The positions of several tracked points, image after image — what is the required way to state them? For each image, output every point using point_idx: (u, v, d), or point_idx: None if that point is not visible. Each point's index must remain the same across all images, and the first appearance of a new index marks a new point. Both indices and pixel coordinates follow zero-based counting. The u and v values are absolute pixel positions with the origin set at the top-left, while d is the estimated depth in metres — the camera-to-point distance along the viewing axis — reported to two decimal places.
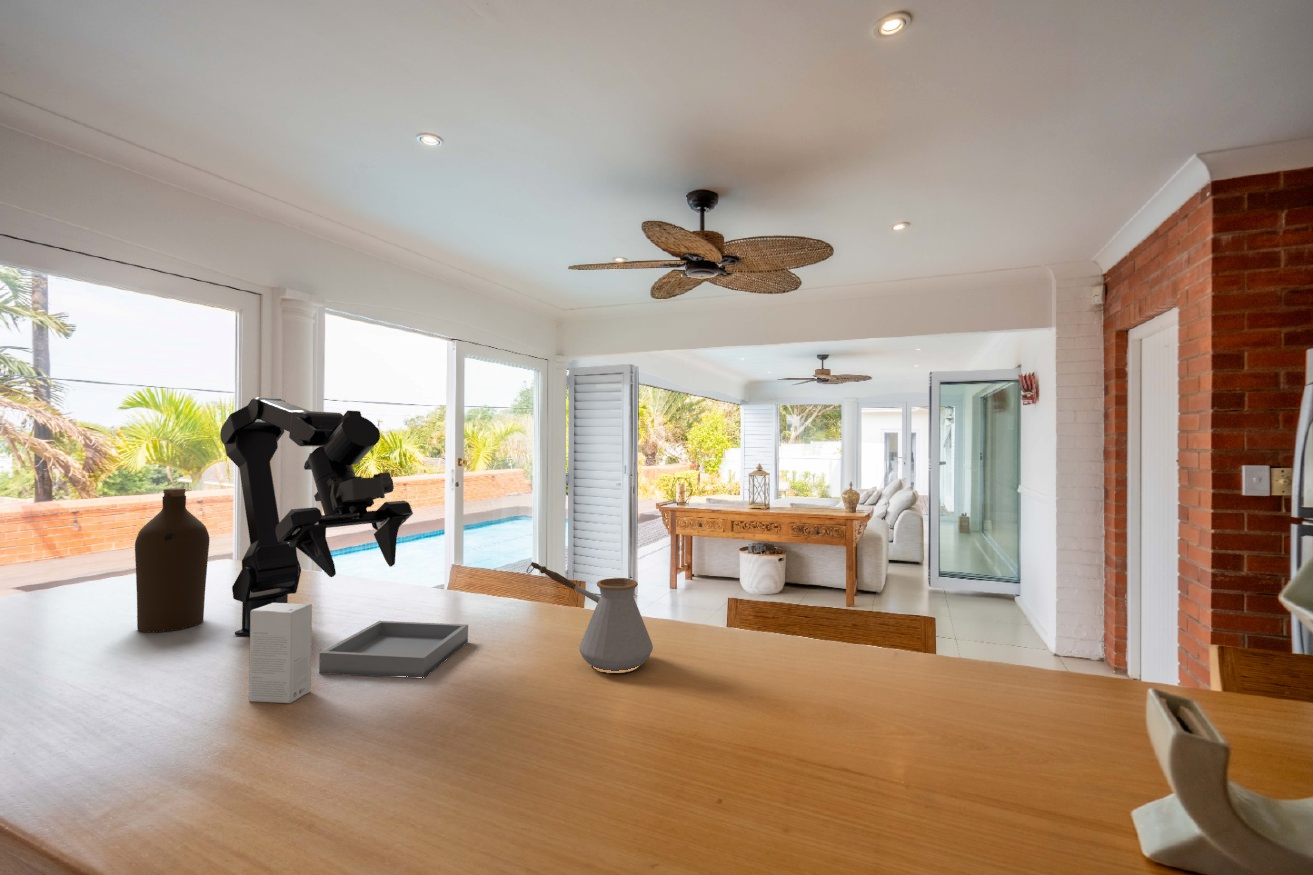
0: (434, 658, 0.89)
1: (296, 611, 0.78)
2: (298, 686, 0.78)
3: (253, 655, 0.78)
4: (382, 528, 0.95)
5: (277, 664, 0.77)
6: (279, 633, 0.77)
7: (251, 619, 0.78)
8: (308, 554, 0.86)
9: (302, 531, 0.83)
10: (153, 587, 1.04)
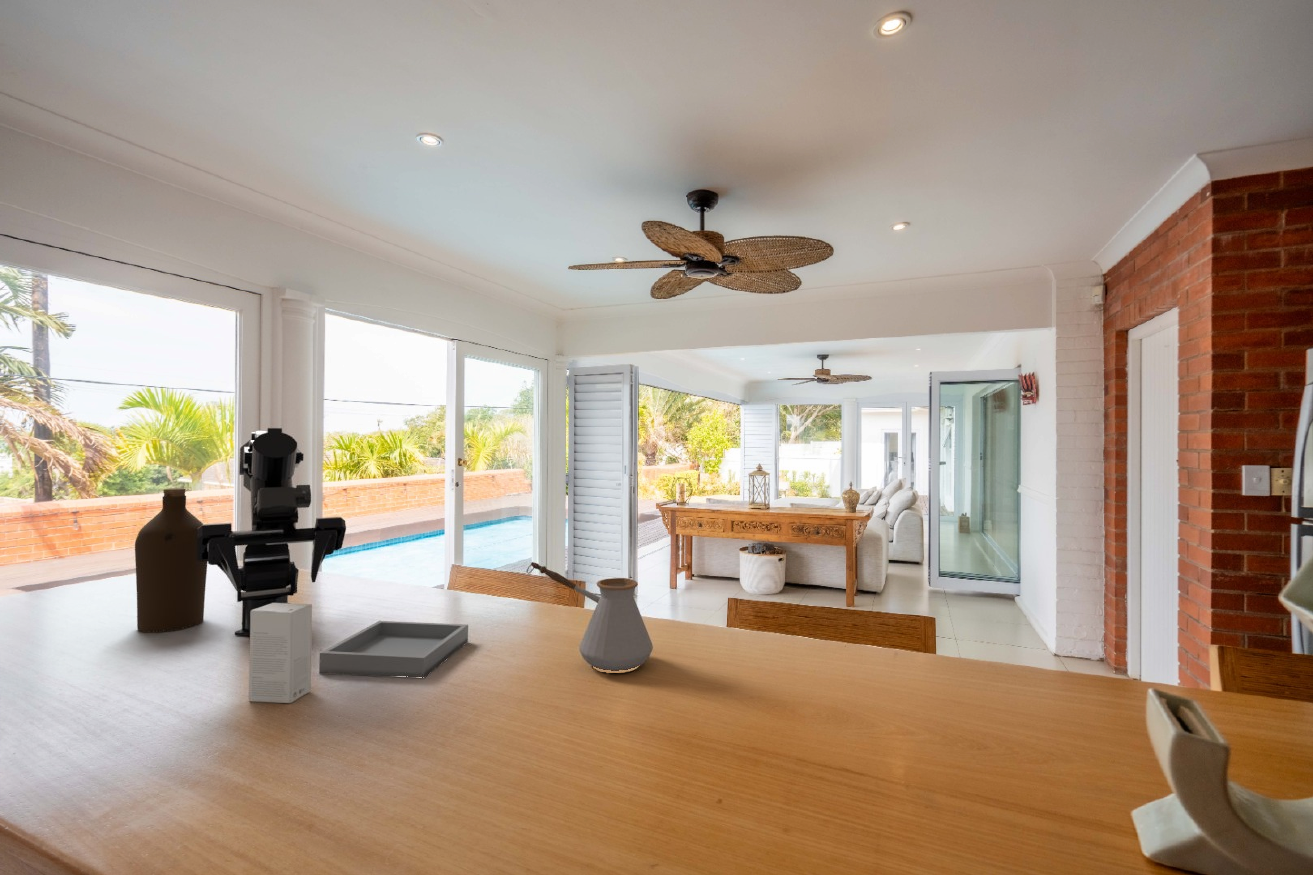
0: (434, 658, 0.89)
1: (296, 611, 0.78)
2: (298, 686, 0.78)
3: (254, 655, 0.78)
4: None
5: (277, 664, 0.77)
6: (279, 633, 0.77)
7: (251, 619, 0.78)
8: (224, 570, 0.85)
9: (208, 544, 0.83)
10: (153, 587, 1.04)
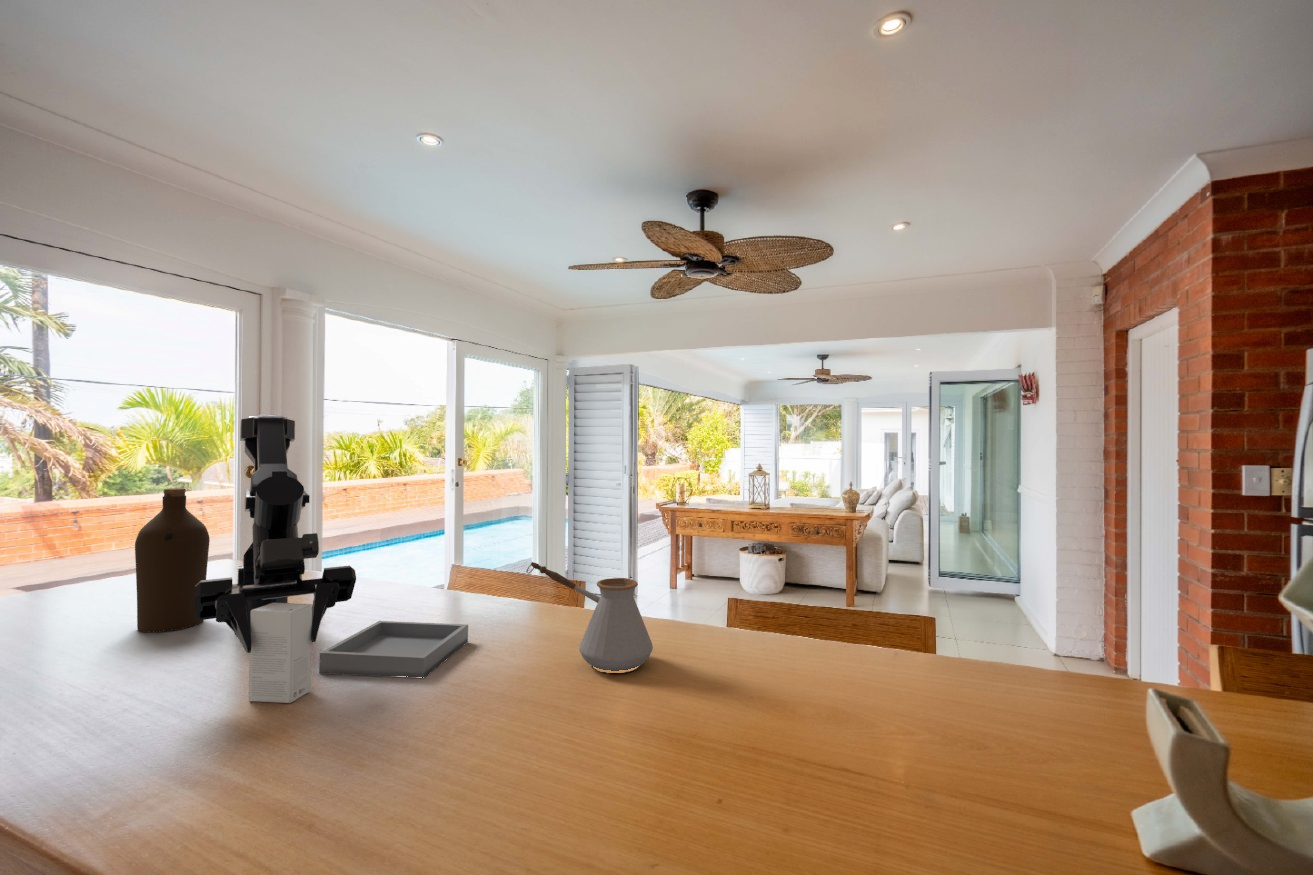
0: (434, 658, 0.89)
1: (296, 611, 0.78)
2: (298, 686, 0.78)
3: (254, 655, 0.78)
4: None
5: (277, 664, 0.77)
6: (279, 633, 0.77)
7: (251, 619, 0.78)
8: (233, 629, 0.79)
9: (217, 602, 0.77)
10: (153, 587, 1.04)
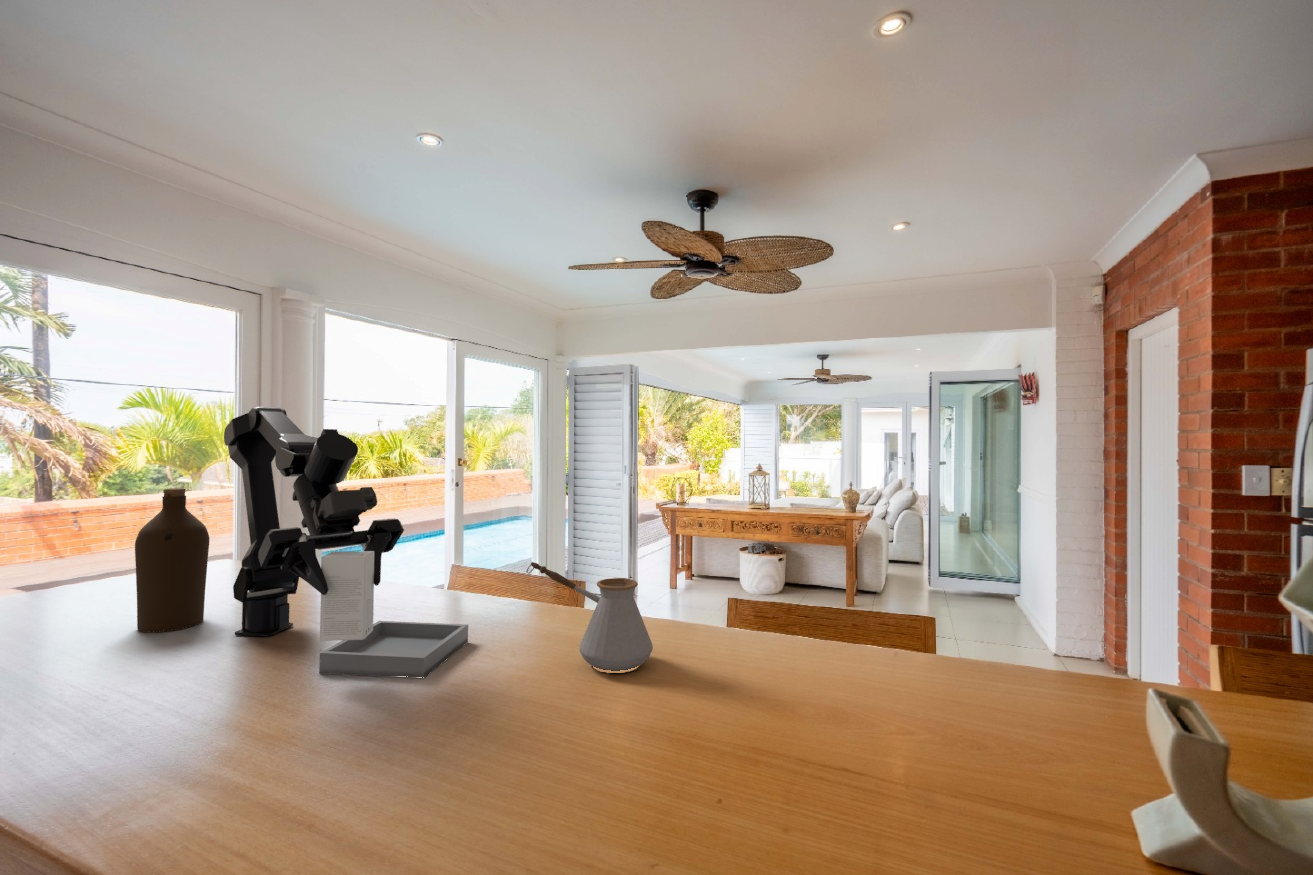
0: (434, 658, 0.89)
1: (367, 556, 0.85)
2: (368, 625, 0.85)
3: (325, 598, 0.83)
4: (367, 549, 0.91)
5: (350, 604, 0.84)
6: (352, 576, 0.84)
7: (322, 564, 0.83)
8: (300, 575, 0.83)
9: (290, 549, 0.81)
10: (153, 587, 1.04)
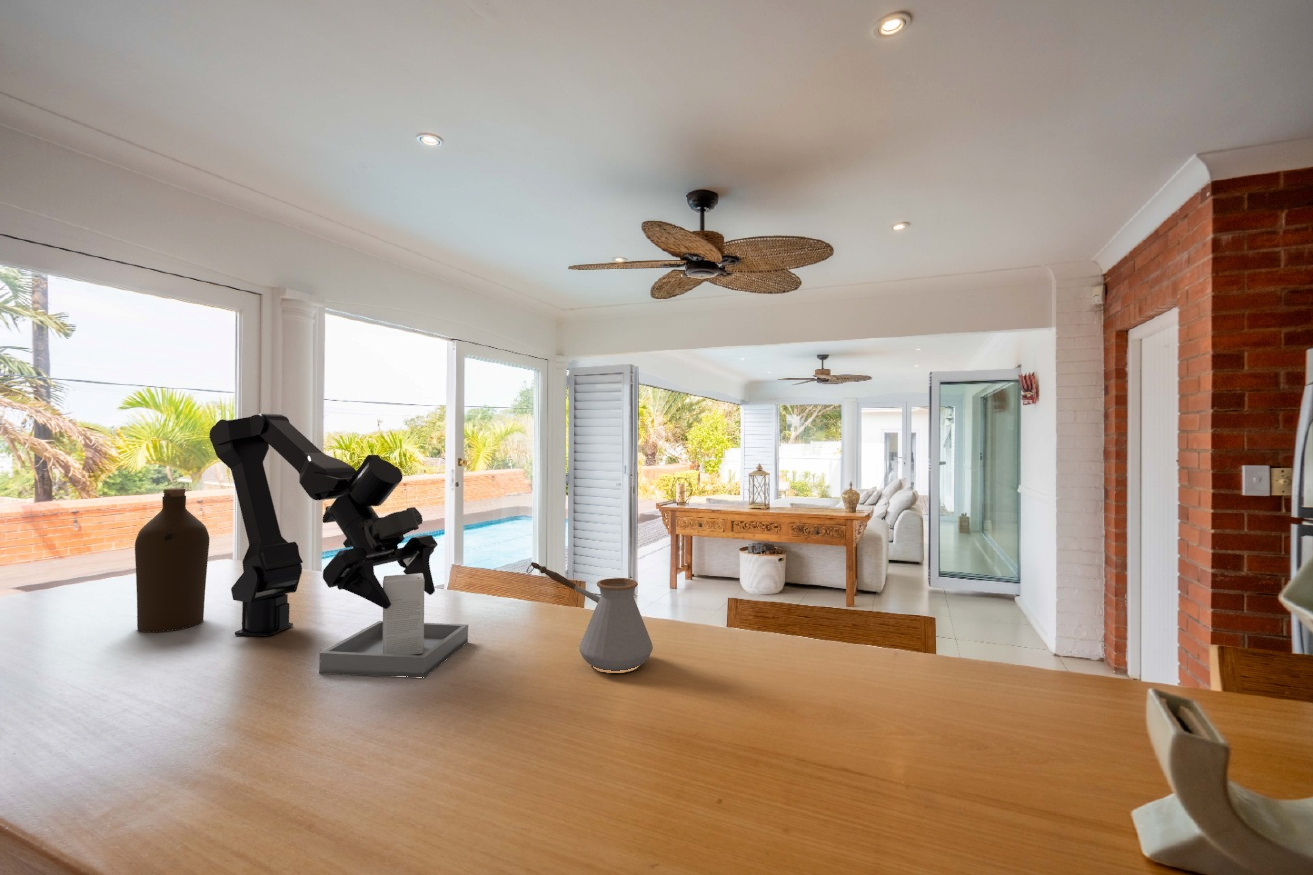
0: (434, 658, 0.89)
1: None
2: None
3: (388, 619, 0.91)
4: (413, 563, 1.00)
5: (411, 623, 0.93)
6: (412, 598, 0.93)
7: (384, 589, 0.91)
8: (358, 593, 0.90)
9: (354, 569, 0.87)
10: (153, 587, 1.04)
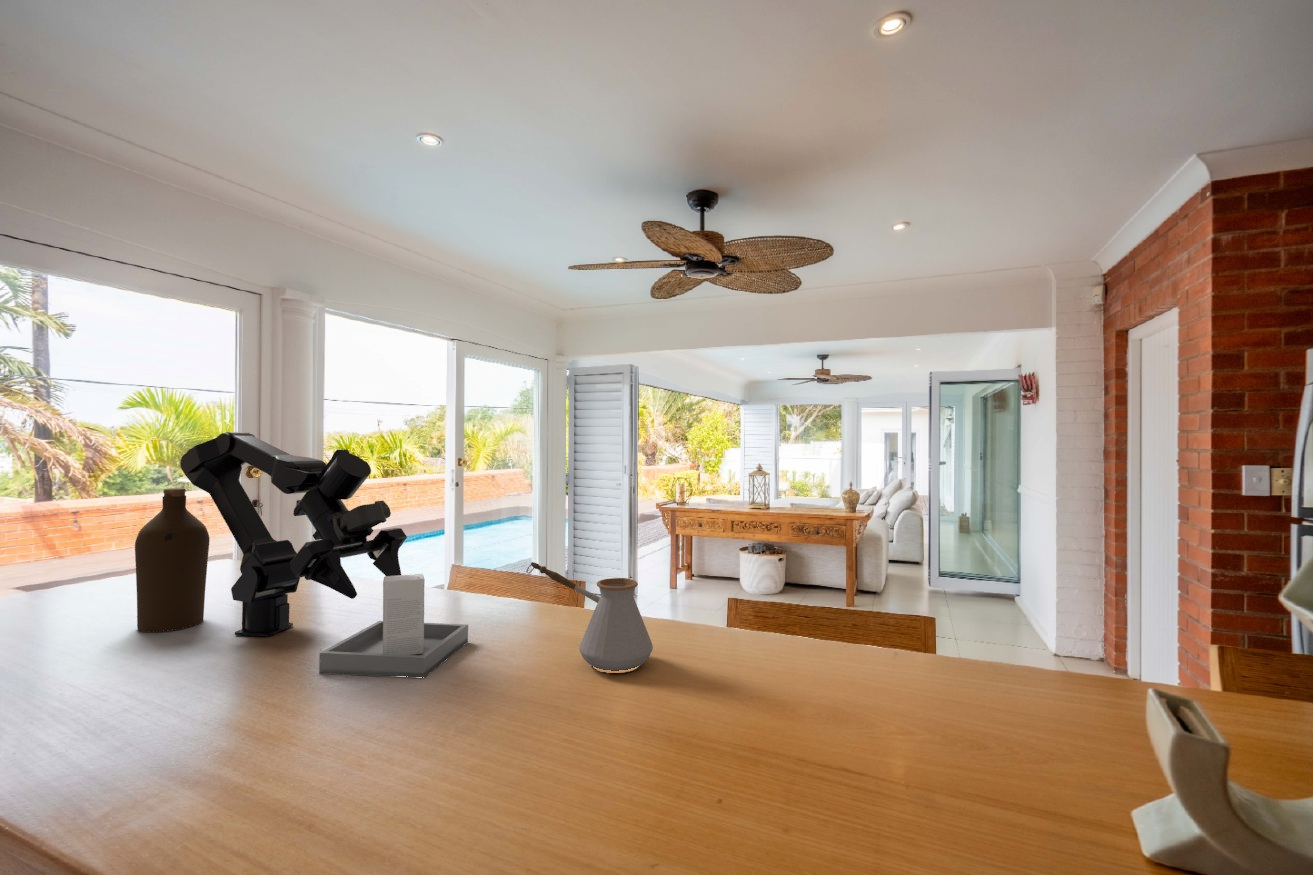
0: (434, 658, 0.89)
1: None
2: None
3: (388, 619, 0.91)
4: (382, 555, 1.03)
5: (411, 623, 0.93)
6: (412, 597, 0.93)
7: (385, 589, 0.91)
8: (325, 583, 0.92)
9: (320, 560, 0.90)
10: (153, 587, 1.04)
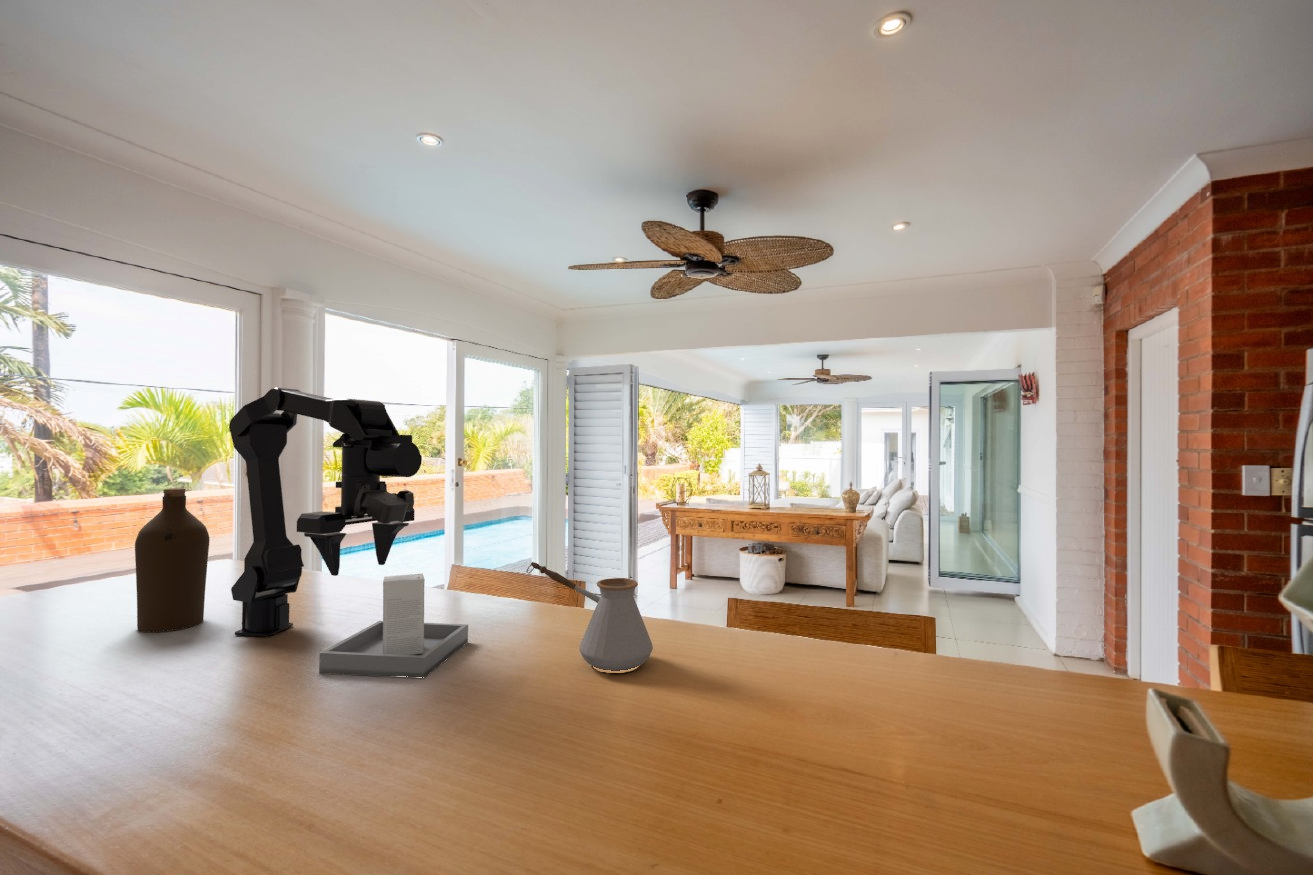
0: (434, 658, 0.89)
1: None
2: None
3: (388, 619, 0.91)
4: (383, 526, 1.03)
5: (411, 623, 0.93)
6: (412, 597, 0.93)
7: (385, 589, 0.91)
8: (318, 547, 0.93)
9: (325, 537, 0.90)
10: (153, 587, 1.04)
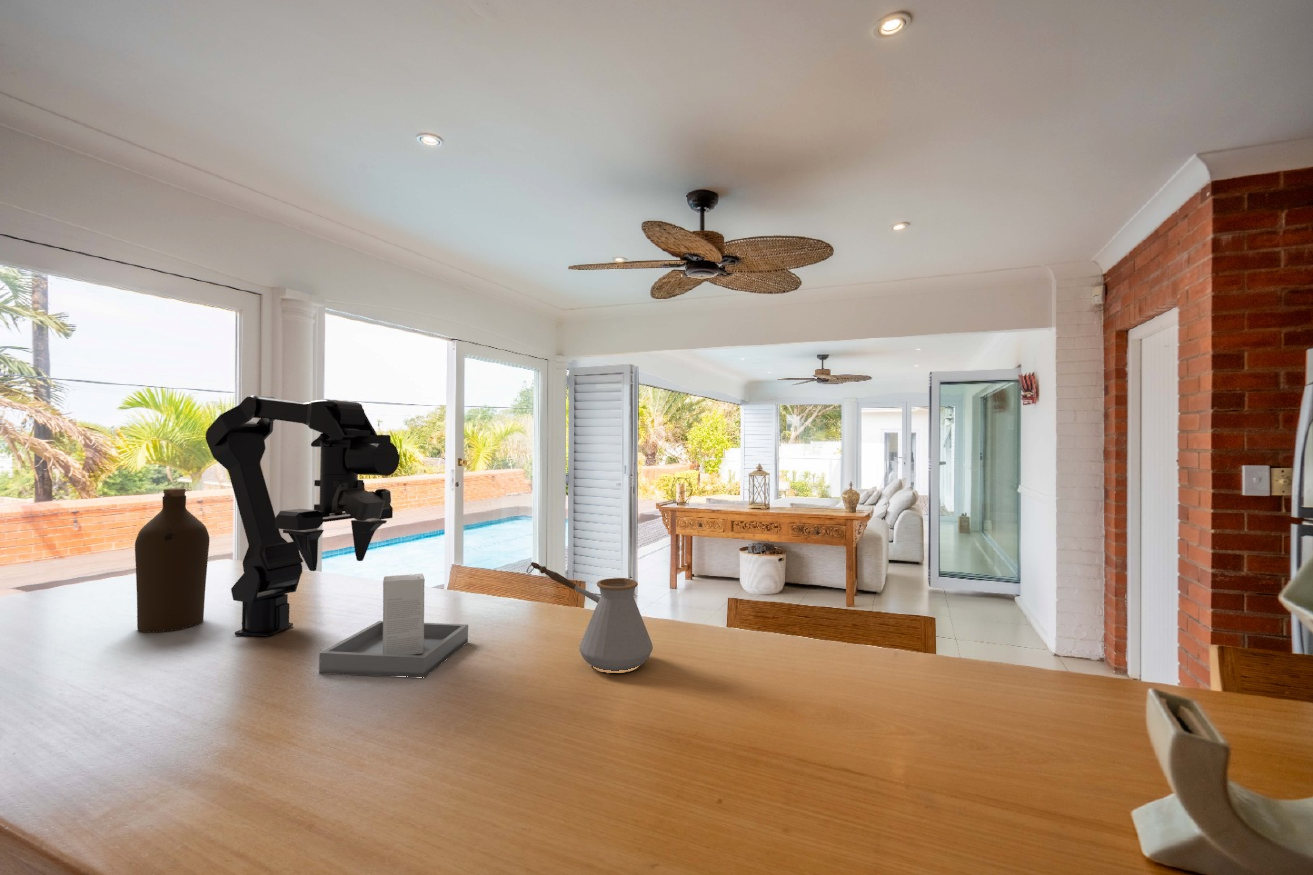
0: (434, 658, 0.89)
1: None
2: None
3: (388, 619, 0.91)
4: (362, 524, 1.06)
5: (411, 623, 0.93)
6: (412, 597, 0.93)
7: (385, 589, 0.91)
8: (296, 543, 0.96)
9: (302, 534, 0.93)
10: (153, 587, 1.04)
